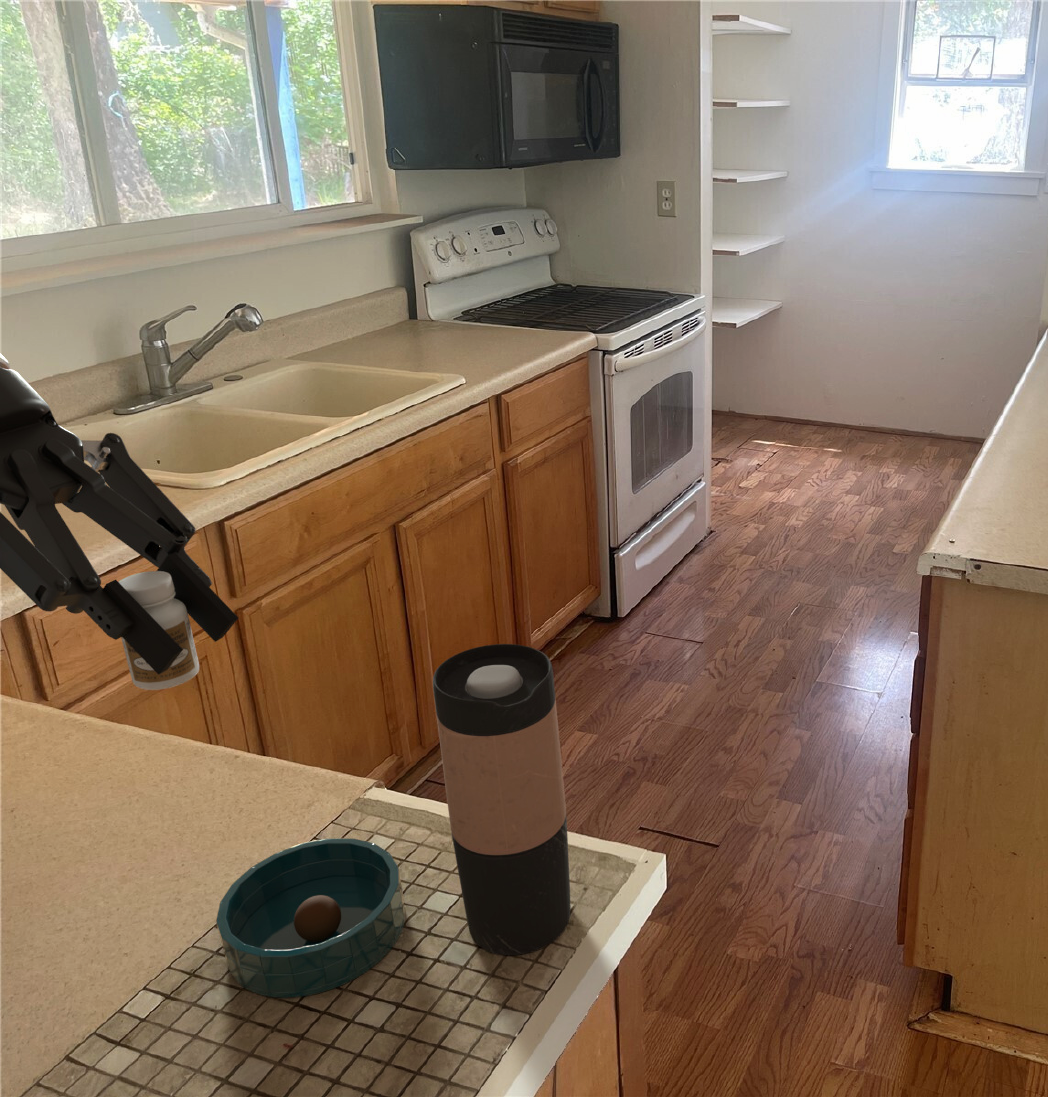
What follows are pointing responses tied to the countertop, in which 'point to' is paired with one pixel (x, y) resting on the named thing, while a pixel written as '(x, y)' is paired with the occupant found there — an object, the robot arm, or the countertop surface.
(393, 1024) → the countertop surface
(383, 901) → the bowl
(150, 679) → the pill bottle
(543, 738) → the travel mug
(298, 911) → the brown ball
